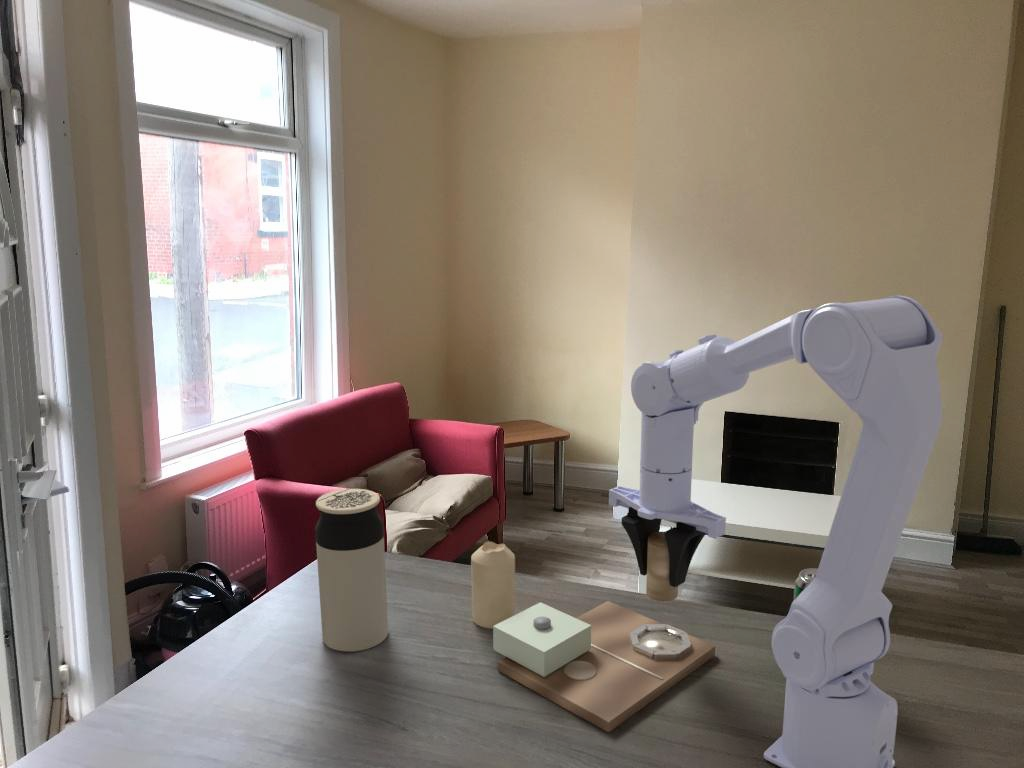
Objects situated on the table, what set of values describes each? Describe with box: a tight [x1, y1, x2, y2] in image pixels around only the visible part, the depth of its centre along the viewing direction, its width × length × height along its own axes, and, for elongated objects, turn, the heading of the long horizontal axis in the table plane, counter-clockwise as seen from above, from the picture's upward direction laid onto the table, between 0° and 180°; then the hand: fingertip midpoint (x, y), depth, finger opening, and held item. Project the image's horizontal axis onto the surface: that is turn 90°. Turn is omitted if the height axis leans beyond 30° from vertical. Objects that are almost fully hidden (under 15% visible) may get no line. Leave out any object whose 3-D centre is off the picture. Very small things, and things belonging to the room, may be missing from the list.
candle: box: [470, 541, 516, 630], centre depth 104 cm, size 6×6×10 cm
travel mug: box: [315, 488, 389, 653], centre depth 99 cm, size 8×8×18 cm
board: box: [497, 600, 716, 733], centre depth 95 cm, size 16×20×1 cm
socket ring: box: [630, 623, 691, 659], centre depth 97 cm, size 7×7×1 cm
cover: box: [492, 602, 591, 677], centre depth 95 cm, size 8×8×4 cm
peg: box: [645, 531, 679, 602], centre depth 95 cm, size 4×4×7 cm
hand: (662, 577), depth 95 cm, fingers closed on peg, 4 cm apart
